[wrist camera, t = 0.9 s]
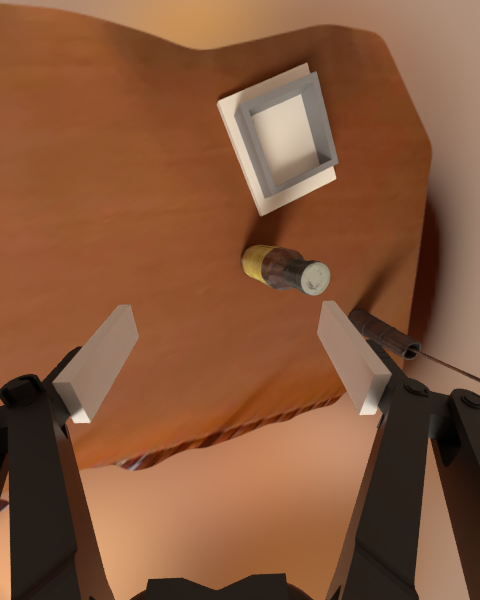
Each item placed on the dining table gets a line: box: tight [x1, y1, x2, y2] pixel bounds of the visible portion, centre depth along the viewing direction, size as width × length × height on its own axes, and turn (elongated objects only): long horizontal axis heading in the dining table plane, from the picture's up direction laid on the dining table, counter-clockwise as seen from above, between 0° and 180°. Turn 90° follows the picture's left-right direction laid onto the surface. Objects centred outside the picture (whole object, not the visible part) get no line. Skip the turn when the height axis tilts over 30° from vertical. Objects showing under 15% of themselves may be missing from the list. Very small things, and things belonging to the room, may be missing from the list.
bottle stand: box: [217, 63, 338, 216], centre depth 38 cm, size 18×16×5 cm
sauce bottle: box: [241, 245, 330, 295], centre depth 36 cm, size 6×6×20 cm
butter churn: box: [348, 309, 480, 382], centre depth 43 cm, size 9×10×28 cm
